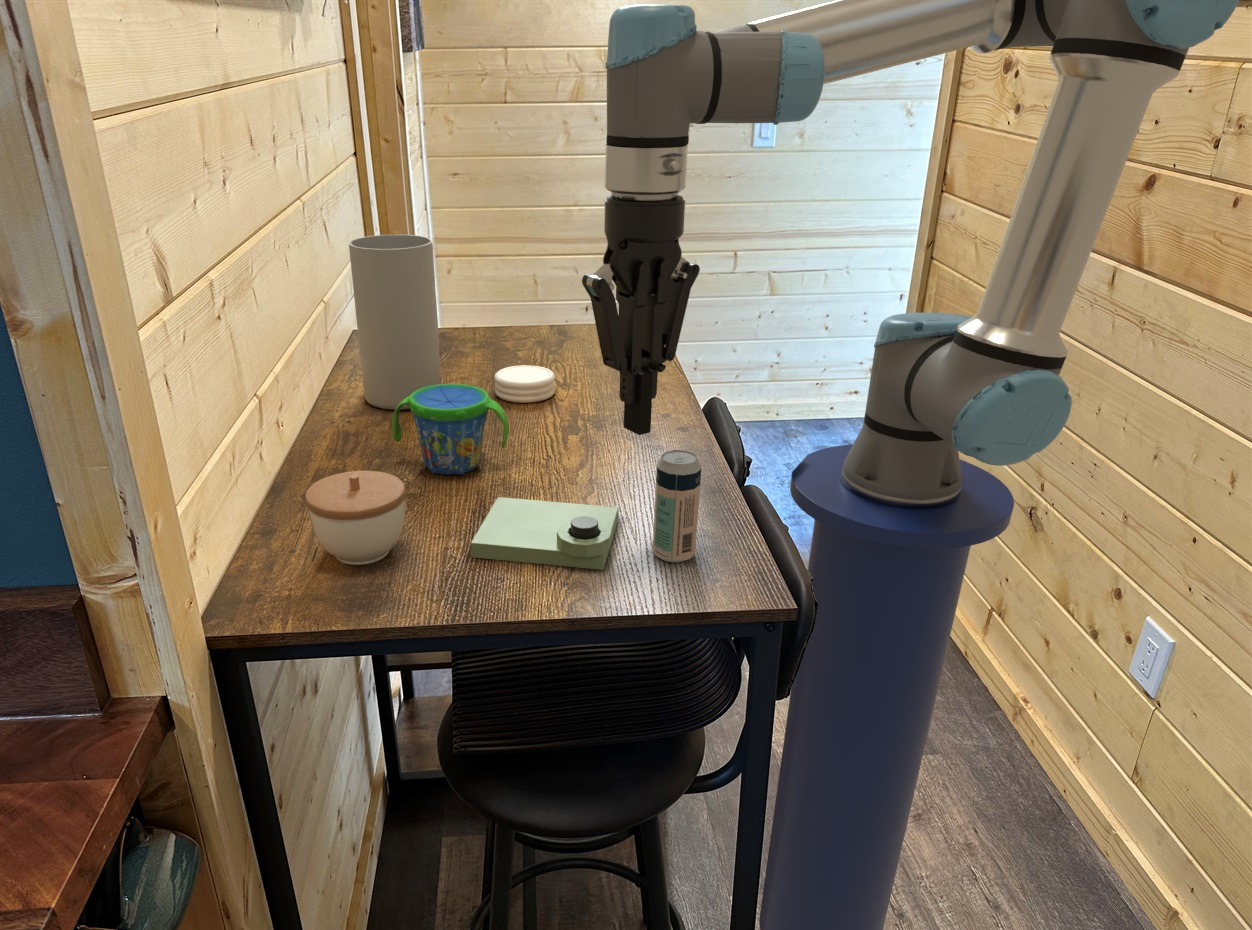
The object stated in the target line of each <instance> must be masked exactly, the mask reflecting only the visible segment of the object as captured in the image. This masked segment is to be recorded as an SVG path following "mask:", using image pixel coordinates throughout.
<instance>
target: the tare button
mask: <svg viewBox="0 0 1252 930" xmlns="http://www.w3.org/2000/svg"><path fill="white" fill-rule="evenodd" d="M571 536H572V537H574V538H576V539H584V540H587V539H593V538H596V537H597V536H598V521H597V520H596V519H595V518H592V517H588V516H581V517H576V518H574V519H573V520H572V521H571Z"/></svg>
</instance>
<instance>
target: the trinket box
mask: <svg viewBox="0 0 1252 930" xmlns="http://www.w3.org/2000/svg"><path fill="white" fill-rule="evenodd" d="M304 500H305V506H306V508H307V512H308V517H309V522H310V527H311V529H312V532H313V534H314V536H315V538H316V540H317V541H318V543H319V545H320V546H321V547H322V548H323V549H324V550H325V551H326V552H327V553H328V554H330V555H332V556H333V557H335V559H336V560H337V561H338V562H340V563H343V564H346V565H351V566H352V565H353V566H362V565H369V564H373V563H376V562H378V561H381V560H382V559H384V558H385V557H387V555H388V554H389V553H390V551H391V550H392V549H393V547H395V545H396V544H397V543H398V541H399V540H400V537H402V533H403V530H404V527H405V522H406V487H405V484H404V482H403V481H402V479H400V478H399V477H397V476H396V475H393V474H390V473H388V472H384V471H376V470H353V471H344V472H340V473H335V474H332V475H328V476H325V477H323V478H321V479H319V480H317V481H316V482H314V483H313V484H311V485H310V486H309V487H308V489H307V490H306V492H305V495H304Z"/></svg>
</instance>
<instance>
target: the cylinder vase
mask: <svg viewBox="0 0 1252 930" xmlns="http://www.w3.org/2000/svg"><path fill="white" fill-rule="evenodd" d="M348 249H349V251H348V252H349V260H350V270H351V279H352V289H353V297H354V298H353V299H354V309H355V317H356V326H357V327H356V329H357V336H358V347H359V357H360V366H361V376H362V384H363V386H362V388H363V396H364V399H365V401H366V402H367V403H368V404H369V405H371V406H372V407H376V408H378V409H383V410H391V411H393V410H394V411H395V409H396V408H397V406H398V405H399V403H400V402H401V401H402V400H404V399H405V398H406V397H408V396H410V395H411V394H412V393H413V392H414V391H416V390H418V389H421V388H423V387H427V386H432V385H439V384H442V369H441V355H440V340H439V339H440V338H439V324H438V323H439V322H438V307H437V292H436V291H437V290H436V276H435V261H434V260H435V259H434V244H433V239H432V238H430V237H428V236H423V235H417V234H378V235H377V234H376V235H368V236H362V237H358V238H353V239H351V240H350V241H348ZM405 410H411V409H410V407H409V406H408V405H403V406H402V407H401V409H400V411H405Z"/></svg>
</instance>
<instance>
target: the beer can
mask: <svg viewBox="0 0 1252 930" xmlns="http://www.w3.org/2000/svg"><path fill="white" fill-rule="evenodd" d="M655 473H656V477H655V479H656V480H655V491H654V492H655V493H654V494H655V495H654V496H655V497H654V515H653V533H652V534H653V536H652V553H653V554H654V556H656V557H657V558H659V559H660V560H662V561H664V562H667V563H682V562H685V561H689V560H690V559H692V557H694V556H695V554H696V546H697V532H698V521H699V519H698V518H699V507H700V506H699V505H700V493H701V492H700V491H701V480H702V479H701V478H702V464H701V462H700V460H699V458H698V455H697V454H696V453H695V452H691V451H689V450H683V449H682V450H681V449H673V450H667V451H664V453H662V454H661V455H660V457H659V459H658V461H657V463H656V472H655Z"/></svg>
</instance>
